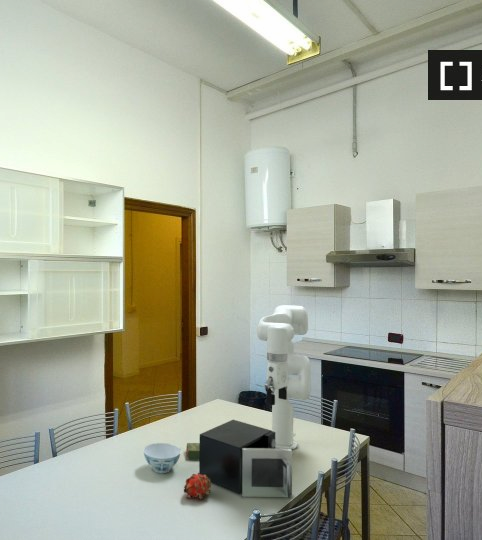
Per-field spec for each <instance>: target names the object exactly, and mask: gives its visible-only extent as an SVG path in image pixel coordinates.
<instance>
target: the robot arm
mask: <svg viewBox="0 0 482 540" xmlns="http://www.w3.org/2000/svg"><path fill="white" fill-rule="evenodd" d="M256 327H257V328H256V335H257V337H258V340H260V341H263V342H266V361H267V366H266V377H265V378H266V381H265V382H264V388H265V389H264V390H265V394H266V405H271V407H272V408H271V431H273V432H275V441H276V444H275V449H291V450H294V449H296V448H297V445H298V443H297V442H296V441H295V440H294V437H296V435H297V433H296V432H295V431H294V418H295V417H294V416H295V415H294V414H295V413H294V412H295V411H294V405H293V404H292V402H291V401H290V399H292V400H299V401H301V400H302V401H306V400H309V398H310V396H311V361H310V359H309V357H308V356H307V355H303V354H295V352H294V351H295V350H294V345H295V344H294V342H293V341H292V340H293V338H294V336H295V335H296V336H304V335H306V334H307V333H308V331H309V317H308V311H307V309H306V308H305V307H304V306H302V305H290V304H282V305H281V304H280V305H278V306H276V307H275V308H274V309H273V313H272V314H270V315H266V316H263V317H262V318H260V319H259V322H258V324H257V326H256ZM290 375H291V376H298V377H291V376H290Z"/></svg>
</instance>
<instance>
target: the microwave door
mask: <svg viewBox="0 0 482 540" xmlns="http://www.w3.org/2000/svg"><path fill="white" fill-rule="evenodd" d="M241 496H242V498H288V499H290V498H293V449H278V448H275V449H271V448H242V493H241Z"/></svg>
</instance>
